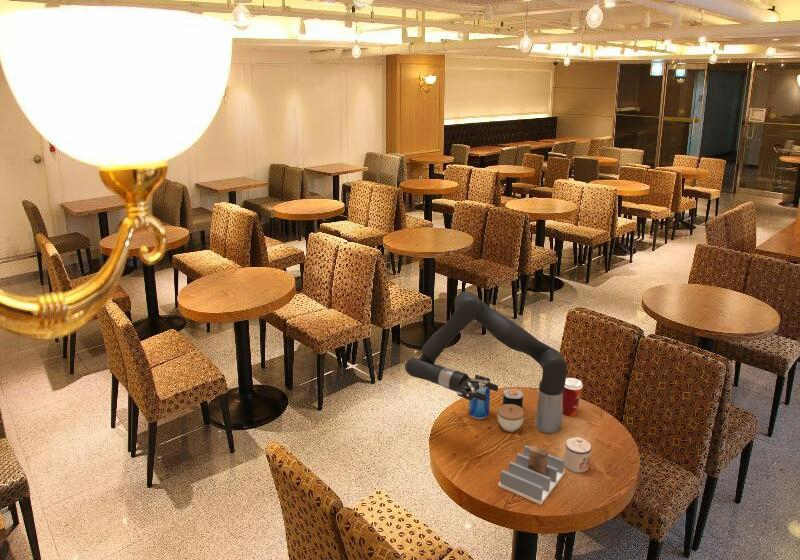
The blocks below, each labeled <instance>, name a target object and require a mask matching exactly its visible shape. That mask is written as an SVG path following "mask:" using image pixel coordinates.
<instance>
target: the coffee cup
mask: <svg viewBox="0 0 800 560" xmlns="http://www.w3.org/2000/svg"><path fill="white" fill-rule="evenodd" d="M582 389H583V382H582V381H581V380H580V379H577V378H574V377H566V381H565V386H564V388H563V394H562V404H561V407H563V414H562V416H563V415H564V416H565V415H566V416H565V417H567V416H569V417H568V418H574V417H577V415H576V414H578V408H579V404H580V398H581V393H582ZM573 416H574V417H573Z"/></svg>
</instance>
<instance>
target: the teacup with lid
mask: <svg viewBox="0 0 800 560" xmlns="http://www.w3.org/2000/svg"><path fill="white" fill-rule="evenodd" d="M591 451H592V445H591V443H590V442H589V441H588V440H586V439H584V438H582V437H580V436H579V437H571V438H568V439H567V440H566V441H565V452H564V459H563V460H564V467H565V468H567V470H569V471H571V472H574V473H580V474H581V473H584V472H586V471H588V470H589V467H590V457H591Z"/></svg>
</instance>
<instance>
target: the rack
mask: <svg viewBox="0 0 800 560" xmlns="http://www.w3.org/2000/svg"><path fill="white" fill-rule="evenodd" d="M531 448H532V446H529V445H524V446H523V454H522V453H520V452H517V453H516V459H515V462H514V461H512V460H511V461H509V463H508V471H506V470H504V469H502V470H501V471H500V480H499V482H498V487H500V488H502V489H504V490H507V491H509V492H511V493H513V494H514V495H515V494H516V495H518V496H520V497H521V498H525V499H527V500H529V501H532V502H533V503H536V504H538V505H541V506H542V504H544V502H545V501H546V499H547V498H548V496H550V494H551V493H552V491H553V490H555V489H554V488H555V487H556V486H557V485H558V483H559V482H560V481H561V480H562V478H563V477H564V475H566V474H565V473H566V472H565V471H564V467H565V464H564V460H565V459H562V458H559V457H557V456H554V455H552V454H550V453H548V457H547V467H546V476H545V475H543V474H540V473H538V472H536V471H533V470H531V469H528V462H529V451H530V449H531Z"/></svg>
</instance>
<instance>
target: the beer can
mask: <svg viewBox="0 0 800 560" xmlns="http://www.w3.org/2000/svg"><path fill="white" fill-rule="evenodd" d="M484 381H487V380H484ZM483 385H484V384H483ZM479 386H480V383H479ZM477 392H479V393H482V394H484V395H486V396H487V398H486V401H482V400H479V399H472V400H468V413H469V415H470V417H471V418H473V419H475V420H484V419H486V418H487V417H488V416H489V414H490V398H491V389H488V388H483V389H478V390H476V393H477Z"/></svg>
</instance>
